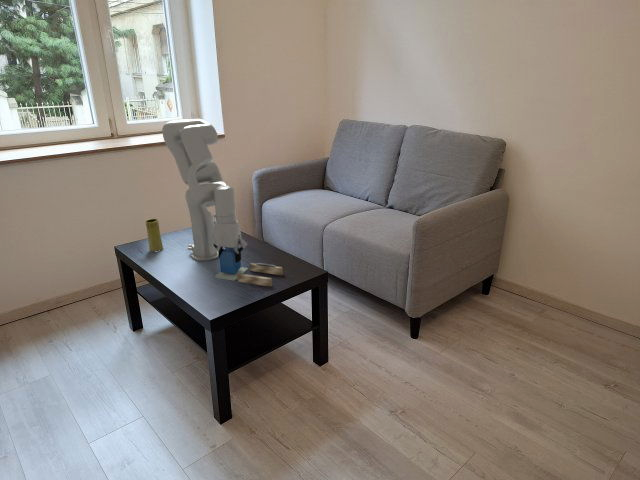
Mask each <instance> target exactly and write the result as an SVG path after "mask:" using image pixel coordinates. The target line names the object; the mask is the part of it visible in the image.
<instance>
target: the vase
mask: <svg viewBox="0 0 640 480" xmlns="http://www.w3.org/2000/svg"><path fill="white" fill-rule="evenodd" d="M145 226H146V231H147V239H148V240H147V242H148V250H150V251H149V252H151V251H159V250H161V251H163V250H164V247H163V241H162V237H161V230H160V225H159V220H158V219H157V218H149V219H146V220H145ZM162 249H163V250H162ZM159 252H160V251H159Z"/></svg>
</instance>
